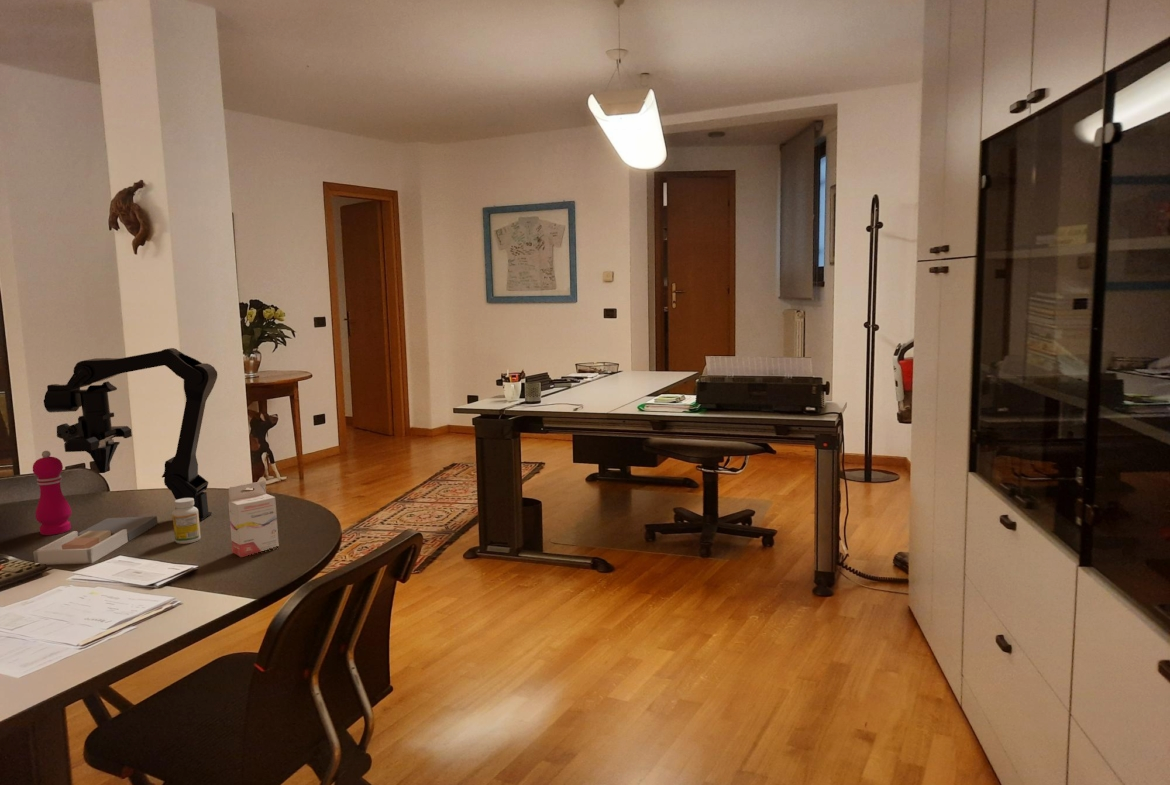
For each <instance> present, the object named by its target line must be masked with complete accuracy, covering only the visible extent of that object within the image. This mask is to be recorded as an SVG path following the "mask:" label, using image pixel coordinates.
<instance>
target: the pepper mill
mask: <svg viewBox="0 0 1170 785" xmlns="http://www.w3.org/2000/svg"><path fill="white" fill-rule="evenodd" d="M41 456H42V457H41V458H38V459H37V460H35V461H34V463H33V464H32V473H33V474H34V475H35V476H36V477H37V478H36V481H37V482H36V484H37V485H38V486H39V489H40V491H39V494H40V495H39V499H38V500H39V501H38V503H37V506H36V509H35V519H36V521H37V522H38V523H40V524H41V525H40V526H39V534H41V535H42V536H54V535H60V534H63V533H66V532H69V531H70V530H71V529H72V525H71V521H69V518H70V517H71V516H72V509H71V505H70V504H69V502H68V501H67V499H66V498H65V496H64V494H63V491H62V487H61V482H62V481H63V479H62V476H63V475H61V473H62V471H63V469H64V467H63V463H62V461H61V459H59V458H58V457H55V456H51V452H50V451H49V450H44V451H42V452H41Z"/></svg>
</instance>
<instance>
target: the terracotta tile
mask: <svg viewBox="0 0 1170 785" xmlns="http://www.w3.org/2000/svg"><path fill="white" fill-rule="evenodd" d="M98 543H99V537H98V538H76V539H74V540H72V541H69V542H67V543H65V544H63V545H62V549H88V548H91V547H92V546H94V545H96V544H98Z"/></svg>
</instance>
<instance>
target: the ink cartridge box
mask: <svg viewBox="0 0 1170 785" xmlns="http://www.w3.org/2000/svg"><path fill="white" fill-rule="evenodd" d="M266 485H267V483H266V481H265V480H262V481H257V482H256V481H255V482H250V483H245V484H239V485H234V486H230V487H229V488H228V511H229V512H228V514H229V525H230V537H231V538H230V539H231V548H232V549H231V550H232V551H231V552H232V553H233V554H234V555H236V556H238V557H239V558H243V557H248V555H249V556H251V554H252V555H255V554H254V553H257V554H259V553H258V552H261V551H264V550H267V549H269V548H273V547H276V546H279V532H278V528H279V527H278V517H277V503H276V496H273V495H272V494H271V495H270V494H268V493H267V486H266ZM248 488H249V489H253V490H250V491H245V490H247V489H248ZM242 491H243V492H242ZM279 547H280V546H279ZM261 553H262V552H261Z"/></svg>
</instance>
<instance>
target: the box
mask: <svg viewBox="0 0 1170 785" xmlns="http://www.w3.org/2000/svg"><path fill="white" fill-rule="evenodd" d="M78 533H79V532H78V531H77V530H73V531H71V532H69V533H68V534H66V535H64V536H62V537H60V538H59V537H58V538H57V539H55V540H53V541H52V542H50V543H47V544H46V545H43V546H42V547H39V548H37V549H36V550H34V551H33V552H32V553H33V559H34V560H33V561H34V564H35V563H42V564H46V565H49V566H50V565H75V564H76V565H77V564H78V565H79V564H93V563H95V562H97V561H99V559H102V558H104V557H105V556H106V555H108V554H110V553H112V552H113V551H116V550H117V549H119V548H120V547H122V546H123V545H126V543H128V542H129V541H128V538H127V529H123V530H121V531H119V532H117V533H116V534H114V535H112V536H110V537H109V538H107V539H105V540H103V541H101V542H100V543H98V544H96V545H94V546H92V547H91V548H88V549H62V545H63V544H65V543H67V542H69V541H72V540H74V539H75V538H76V537H78ZM46 565H45V566H46Z"/></svg>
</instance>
